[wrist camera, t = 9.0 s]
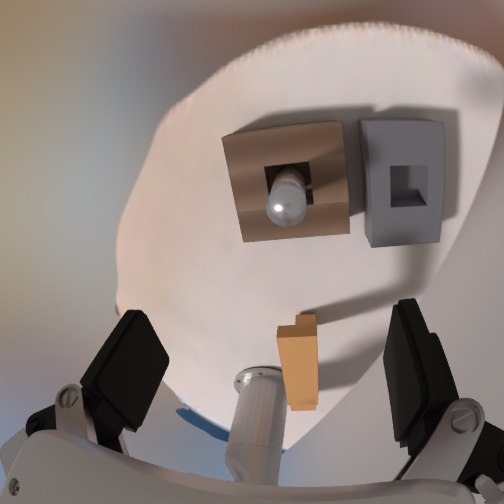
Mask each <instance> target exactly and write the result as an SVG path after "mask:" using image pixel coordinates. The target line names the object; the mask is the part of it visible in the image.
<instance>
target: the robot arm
mask: <svg viewBox="0 0 504 504" xmlns="http://www.w3.org/2000/svg"><path fill="white" fill-rule="evenodd" d="M383 361H384V368H385V374H386V380H387V386H388V392H389V398H390V405H391V413H392V420H393V428H394V438H395V441H396V442H398V441H400V448H402V447H407V446H408V454H409V455H410V457H409V459H408V460H407V462H406V463H405V465H404V466H403V467H402V469H401V470H400V471H399V473H398V474H397V475H396V476H395V478H394V479H393V480H392V481H389V482H379V483H370V484H360V485H349V486H331V487H283V486H278V477H279V468H280V460H281V453H282V445H283V437H284V429H285V421H286V412H287V403H288V401H287V396H286V390H285V384H284V378H283V373H282V372H281V371H279V370H275V369H270V368H251V369H247V370H244V371H242V372H240V373H239V374H238V375H237V376H236V378H235V381H234V387H235V390H236V391H237V392H238V393H239V398H238V402H237V407H236V411H235V415H234V419H233V423H232V427H231V431H230V435H229V439H228V443H227V448H226V451H225V463H226V466H227V467H228V469H229V471H230V472H231V474H232V475H233V477H234V478H235V481H223V480H219V479H214V478H209V477H205V476H200V475H197V474H192V473H184V472H180V471H176V470H172V469H168V468H164V467H161V466H157V465H154V464H151V463H148V462H144V461H141V460H138V459H135V458H133V457H130V456H129V453H128V450H127V447H126V444H125V440H124V437H123V433H122V430H123V428H125V429H126V430H129V431H132V432H135V433H136V431H137V429H138V427H140V426H141V425H142V423H143V421H144V419H145V416H146V414H147V412H148V409H149V407H150V405H151V403H152V400H153V398H154V396H155V394H156V391H157V389H158V387H159V385H160V382H161V380H162V378H163V376H164V374H165V371H166V369H167V367H168V365H169V356H168V354H167V352H166V351H165V349H164V347H163V345H162V344H161V342H160V340H159V338H158V336H157V334H156V332H155V331H154V329H153V327H152V325H151V323H150V321H149V319H148V317H147V315H146V314H144V313H143V311H141V310H127V311H126V312H125V314H124V315H123V317H122V318H121V320H120V321H119V322H118V324H117V325H116V327H115V328H114V330H113V331H112V333H111V334H110V336H109V337H108V339H107V340H106V341H105V343H104V345H103V346H102V348H101V349H100V351H99V352H98V354H97V355H96V357H95V358H94V360H93V361H92V363H91V364H90V366H89V367H88V369H87V371H86V372H85V374H84V376H83V377H82V379H81V380H80V383H81V385H82V386H83V387H82V388H80V387H79V386H78V385H76V384H69V385H66V386H64V387H63V388H62V389H61V390H60V391H59V392H58V394H57V396H56V400H55V404H54V405H52V406H50V407H47V408H45V409H43V410H41V411H38V412H36V413H34V414H33V415H31V416H30V417H29V419H28V420H27V424H26V429H25V428H23V429H21V430H20V431H19V432H18V433H17V434H15V435H14V436H13V437H12V438H10V439H9V440H8V441H7V442H5V443H4V444H3V445H2V447H1V449H0V459H1V462H2V465H3V468H4V471H5V474H6V477H7V479H6V481H5V483H4V486H3V488H2V491H1V494H0V504H476V502H475V499H474V496H473V494H472V492H473V493H476V494H481V495H482V496H483V498H484V499H485V500H486V501H485V502H484V503H485V504H504V431H503V430H501V429H500V428H498V427H496V426H494V425H492V424H490V423H488V422H486V421H485V413H484V410H483V408H482V406H481V405H480V404H479V403H478V402H477V401H475V400H474V399H470V398H461V399H459V396H458V392H457V389H456V386H455V383H454V380H453V376H452V374H451V370H450V367H449V364H448V361H447V359H446V356H445V353H444V350H443V348H442V345H441V342H440V340H439V337H438V336H437V334H436V333H429V331H428V329H427V326H426V323H425V321H424V318H423V316H422V313H421V311H420V308H419V306H418V304H417V301H416V300H415V299H414V298H411V299H403V300H399V301H398V304H396V305H394V306H393V310H392V316H391V321H390V326H389V332H388V336H387V341H386V346H385V350H384V355H383Z"/></svg>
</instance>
